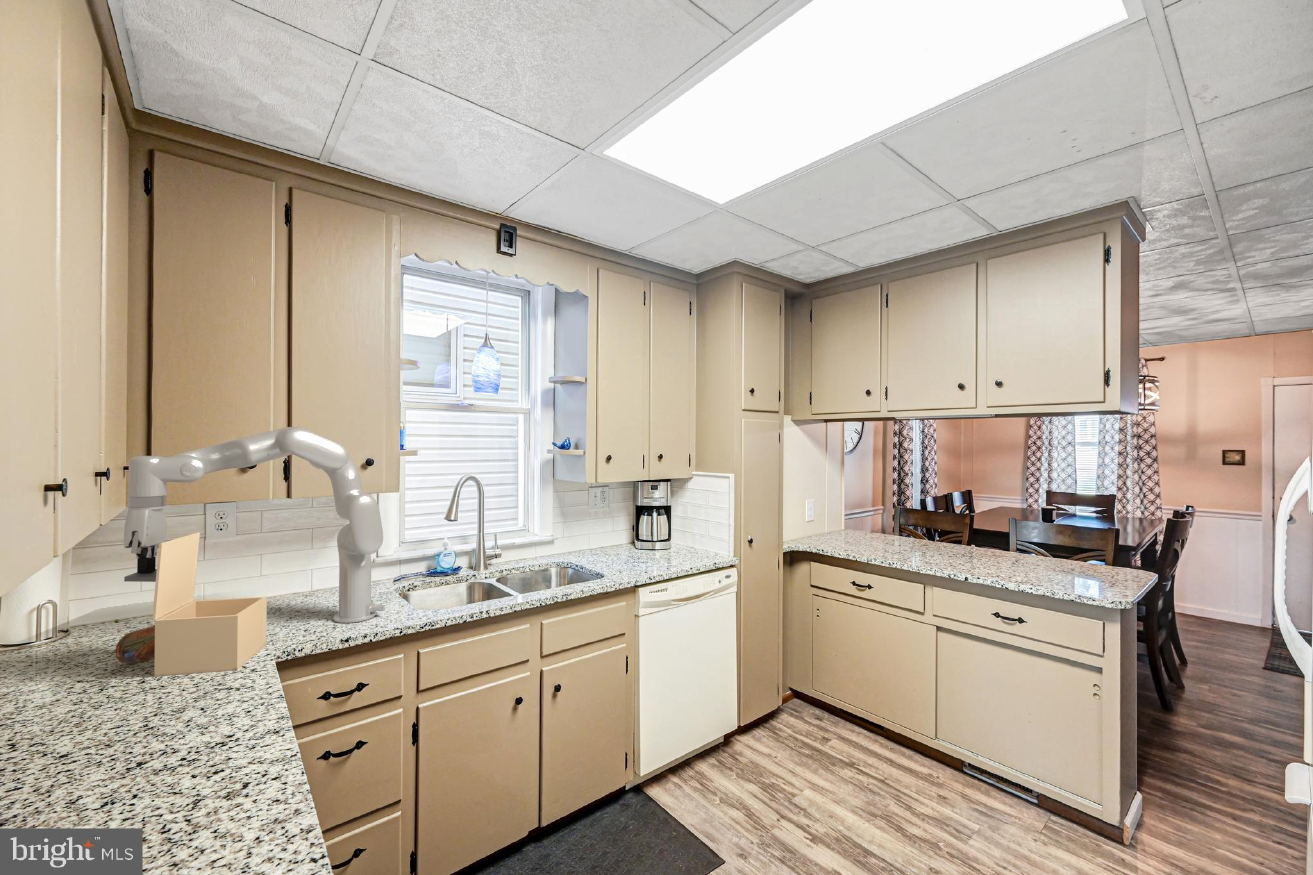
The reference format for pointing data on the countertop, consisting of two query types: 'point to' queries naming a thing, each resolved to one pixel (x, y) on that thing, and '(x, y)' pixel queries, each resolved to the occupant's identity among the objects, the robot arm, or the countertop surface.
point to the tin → (137, 646)
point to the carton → (210, 636)
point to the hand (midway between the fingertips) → (146, 572)
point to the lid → (172, 574)
